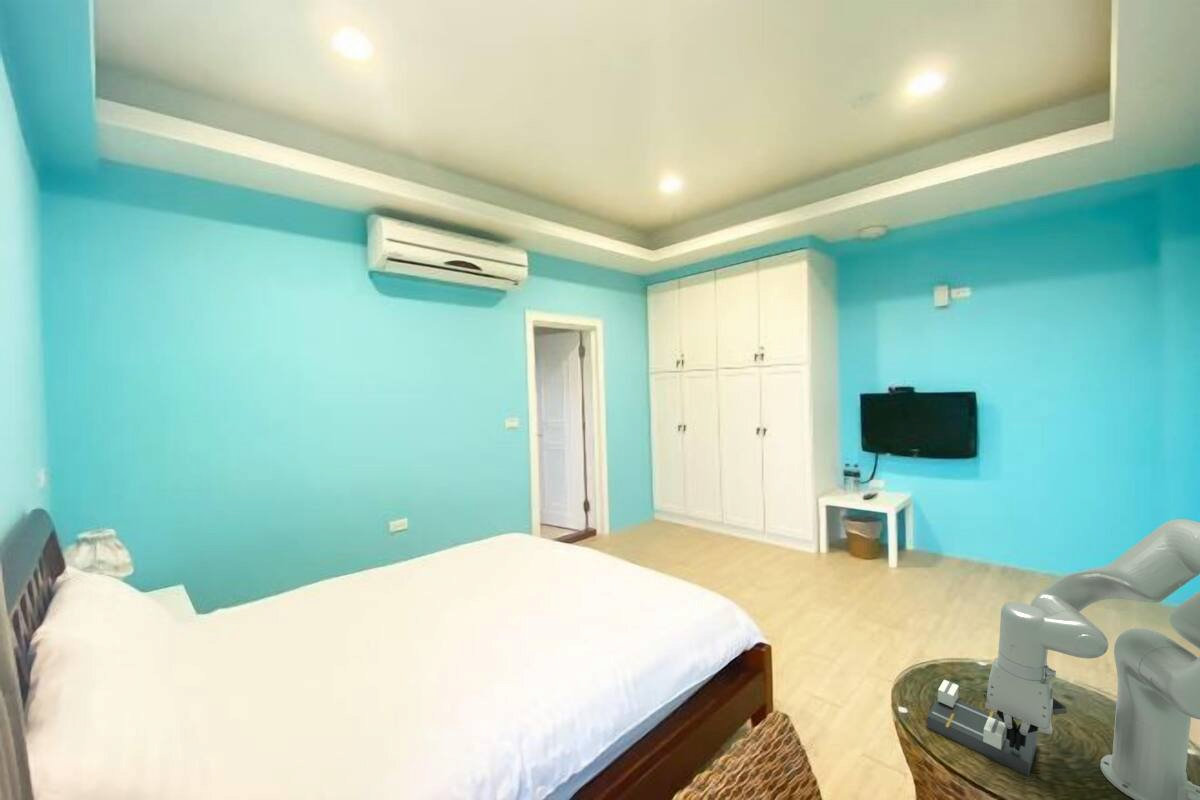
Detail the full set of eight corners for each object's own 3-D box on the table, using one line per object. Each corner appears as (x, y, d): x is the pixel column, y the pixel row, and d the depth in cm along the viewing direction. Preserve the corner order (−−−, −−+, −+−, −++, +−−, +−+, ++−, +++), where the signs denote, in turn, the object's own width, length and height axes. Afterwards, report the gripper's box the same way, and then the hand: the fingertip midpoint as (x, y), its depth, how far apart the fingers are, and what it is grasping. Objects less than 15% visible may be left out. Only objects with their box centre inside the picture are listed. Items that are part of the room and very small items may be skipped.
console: (1037, 743, 108) (1038, 730, 107) (1027, 778, 99) (1028, 764, 99) (941, 701, 121) (941, 690, 121) (925, 729, 113) (926, 717, 112)
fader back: (958, 697, 118) (958, 685, 118) (952, 707, 115) (953, 695, 114) (943, 690, 120) (944, 679, 120) (937, 701, 117) (938, 689, 116)
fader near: (1005, 736, 106) (1006, 723, 105) (1000, 749, 103) (1001, 736, 102) (988, 728, 108) (988, 716, 108) (983, 741, 105) (983, 728, 104)
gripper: (1073, 673, 97) (1066, 756, 99) (980, 641, 108) (975, 716, 110) (1069, 691, 92) (1062, 778, 94) (972, 656, 103) (967, 734, 105)
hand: (1015, 745), depth 102 cm, fingers closed
